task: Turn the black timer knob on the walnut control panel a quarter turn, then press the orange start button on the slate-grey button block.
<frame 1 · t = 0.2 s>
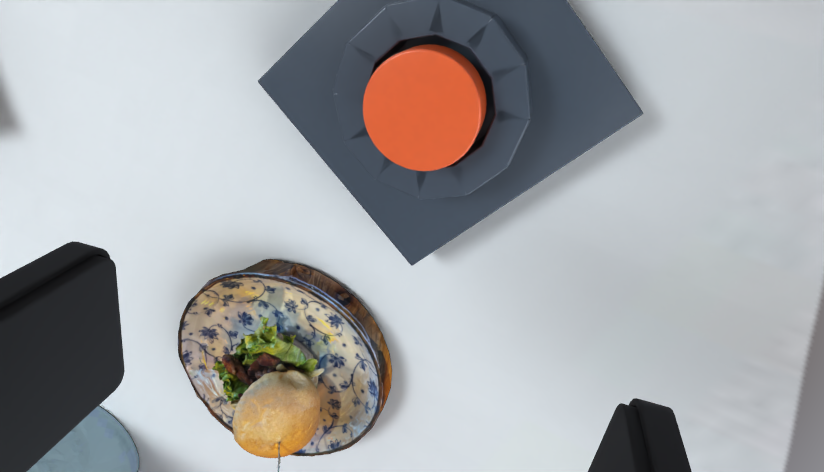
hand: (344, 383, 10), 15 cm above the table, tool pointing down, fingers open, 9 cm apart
start button: (425, 108, 19), point 4 cm above the table, slide at 0.1 cm
button block: (447, 87, 23), on the table
blue-grey cup: (84, 437, 38), on the table
burger: (292, 352, 31), on the table
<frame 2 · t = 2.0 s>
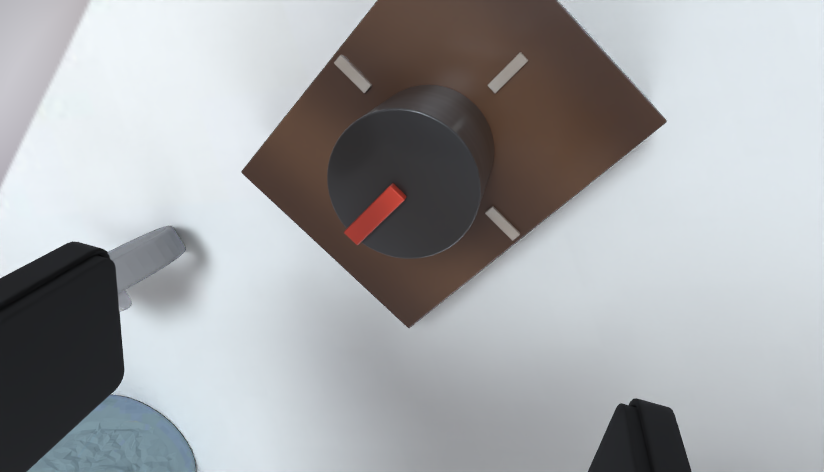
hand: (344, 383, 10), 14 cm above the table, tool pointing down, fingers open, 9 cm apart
timer panel: (445, 129, 21), on the table
timer knob: (416, 168, 17), point 5 cm above the table, hinge at 0.0°
blue-grey cup: (137, 443, 34), on the table
wristwatch: (158, 242, 27), on the table
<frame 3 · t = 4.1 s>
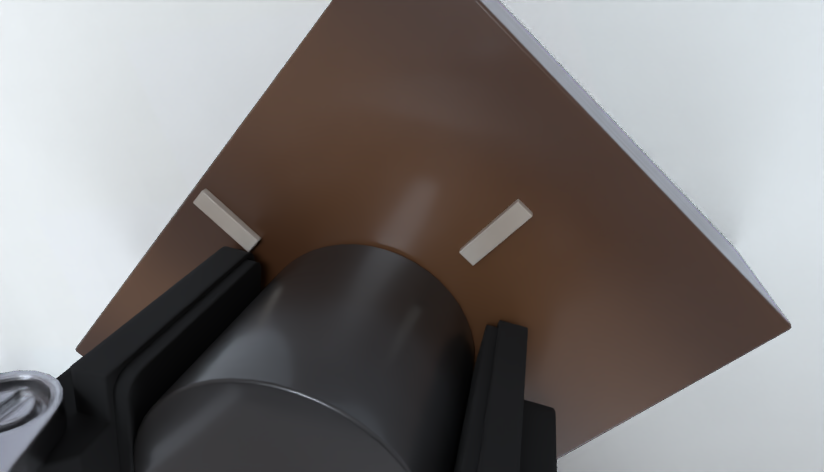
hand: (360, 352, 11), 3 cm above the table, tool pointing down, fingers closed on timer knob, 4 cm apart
timer panel: (401, 272, 14), on the table
timer knob: (326, 417, 9), point 5 cm above the table, hinge at -0.2°, touching gripper
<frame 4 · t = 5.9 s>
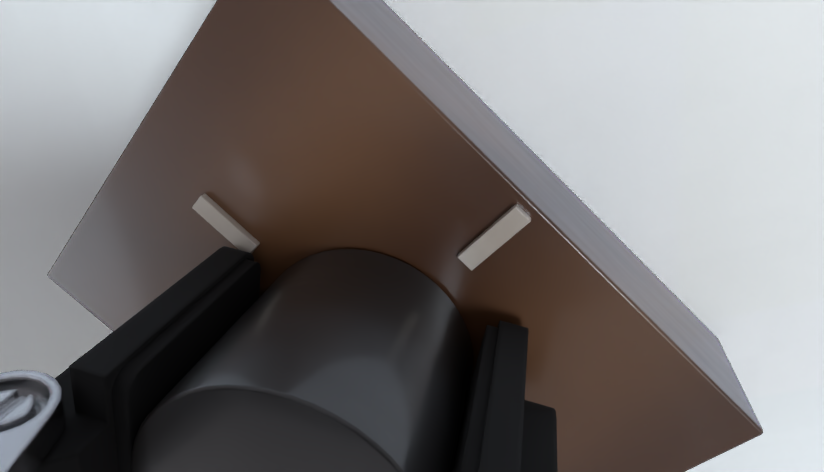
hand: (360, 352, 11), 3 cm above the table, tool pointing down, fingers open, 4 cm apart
timer panel: (400, 276, 14), on the table
timer knob: (324, 422, 9), point 5 cm above the table, hinge at 90.9°
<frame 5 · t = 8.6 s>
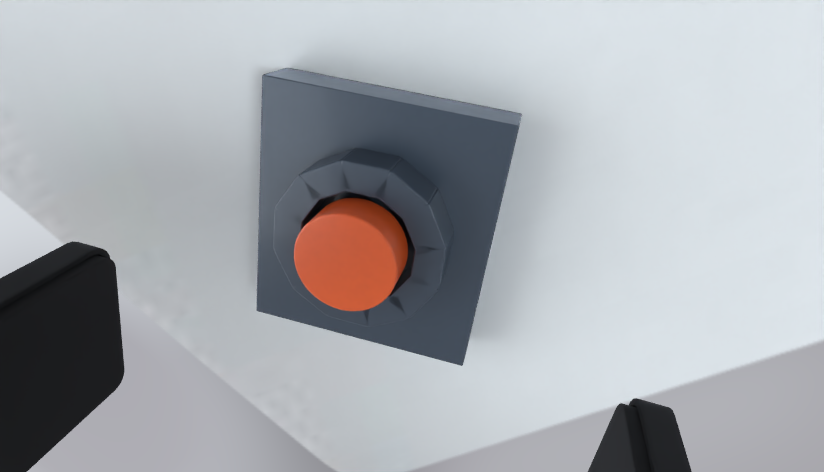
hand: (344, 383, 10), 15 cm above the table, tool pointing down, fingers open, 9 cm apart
start button: (351, 254, 21), point 4 cm above the table, slide at 0.1 cm
button block: (384, 212, 25), on the table
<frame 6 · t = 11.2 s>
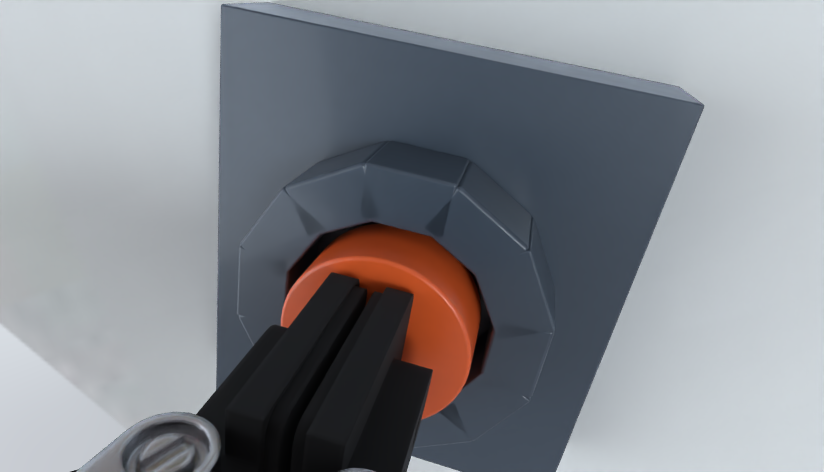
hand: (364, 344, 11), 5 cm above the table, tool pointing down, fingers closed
start button: (383, 323, 12), point 4 cm above the table, slide at -0.4 cm, touching gripper
button block: (422, 246, 15), on the table
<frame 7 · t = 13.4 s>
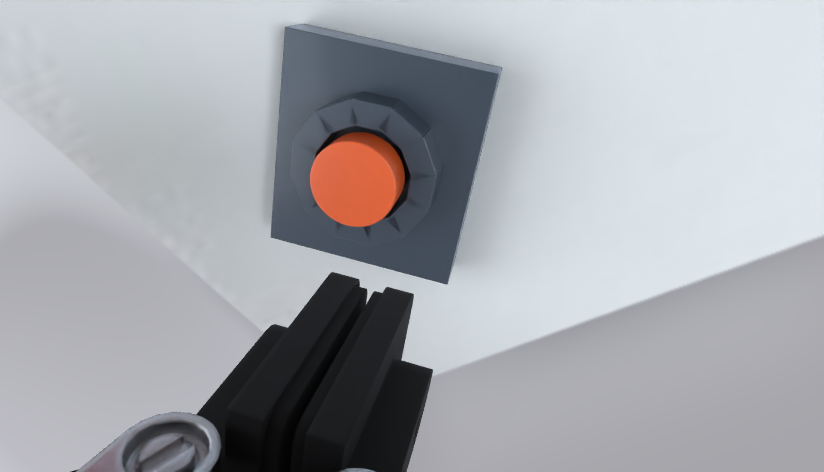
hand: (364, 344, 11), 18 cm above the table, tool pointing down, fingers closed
start button: (358, 179, 25), point 4 cm above the table, slide at 0.1 cm
button block: (383, 152, 29), on the table
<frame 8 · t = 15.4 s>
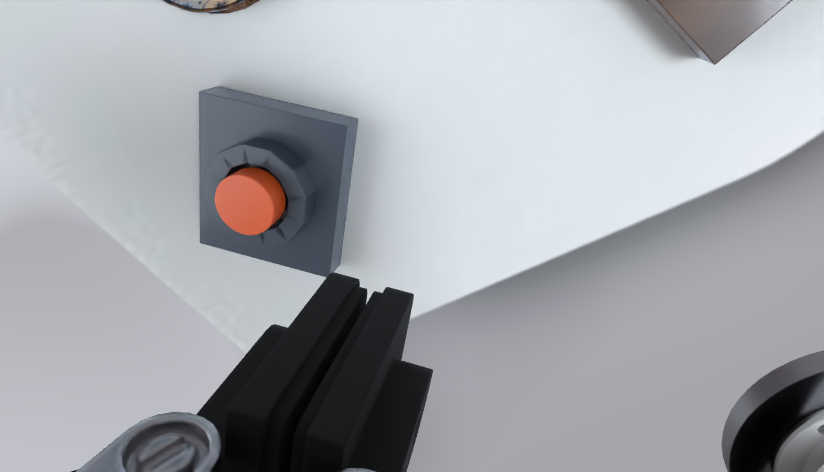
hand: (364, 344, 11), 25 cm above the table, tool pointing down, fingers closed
start button: (250, 201, 34), point 4 cm above the table, slide at 0.1 cm
button block: (281, 179, 38), on the table
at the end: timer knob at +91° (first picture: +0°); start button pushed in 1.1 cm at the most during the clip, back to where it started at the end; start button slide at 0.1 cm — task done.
